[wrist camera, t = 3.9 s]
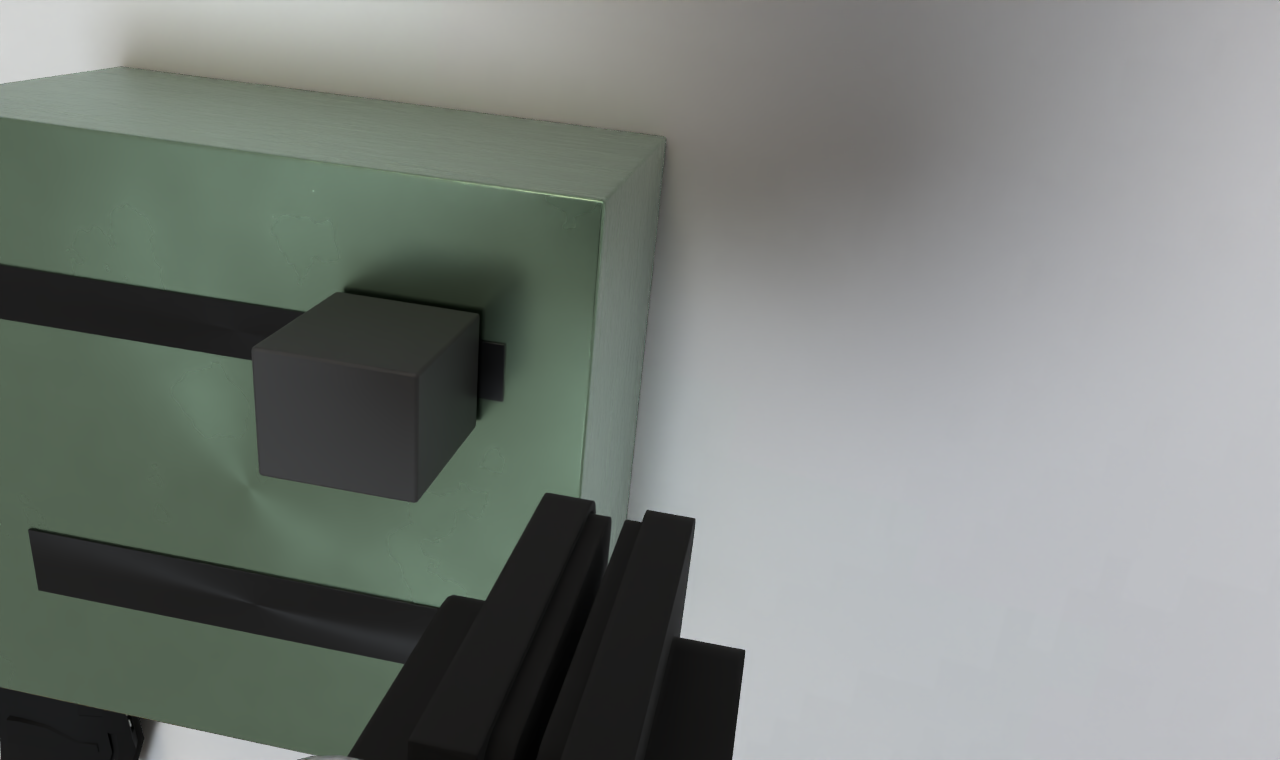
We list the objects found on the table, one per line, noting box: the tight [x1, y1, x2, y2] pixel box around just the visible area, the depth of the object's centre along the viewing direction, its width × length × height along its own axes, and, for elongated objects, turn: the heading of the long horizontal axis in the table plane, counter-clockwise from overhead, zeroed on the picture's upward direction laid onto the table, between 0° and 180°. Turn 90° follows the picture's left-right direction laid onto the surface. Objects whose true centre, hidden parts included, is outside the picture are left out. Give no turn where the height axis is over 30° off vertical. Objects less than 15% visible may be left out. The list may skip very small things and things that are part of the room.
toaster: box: [0, 67, 666, 756], centre depth 21 cm, size 12×12×6 cm
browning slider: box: [251, 292, 480, 503], centre depth 15 cm, size 2×2×3 cm
